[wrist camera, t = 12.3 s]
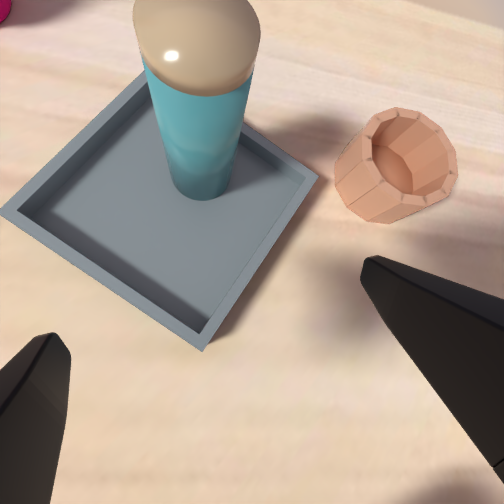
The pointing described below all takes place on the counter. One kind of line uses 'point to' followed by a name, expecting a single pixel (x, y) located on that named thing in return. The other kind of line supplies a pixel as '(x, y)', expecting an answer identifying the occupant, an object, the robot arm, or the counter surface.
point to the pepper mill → (4, 9)
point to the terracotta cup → (395, 166)
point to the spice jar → (198, 84)
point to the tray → (159, 216)
